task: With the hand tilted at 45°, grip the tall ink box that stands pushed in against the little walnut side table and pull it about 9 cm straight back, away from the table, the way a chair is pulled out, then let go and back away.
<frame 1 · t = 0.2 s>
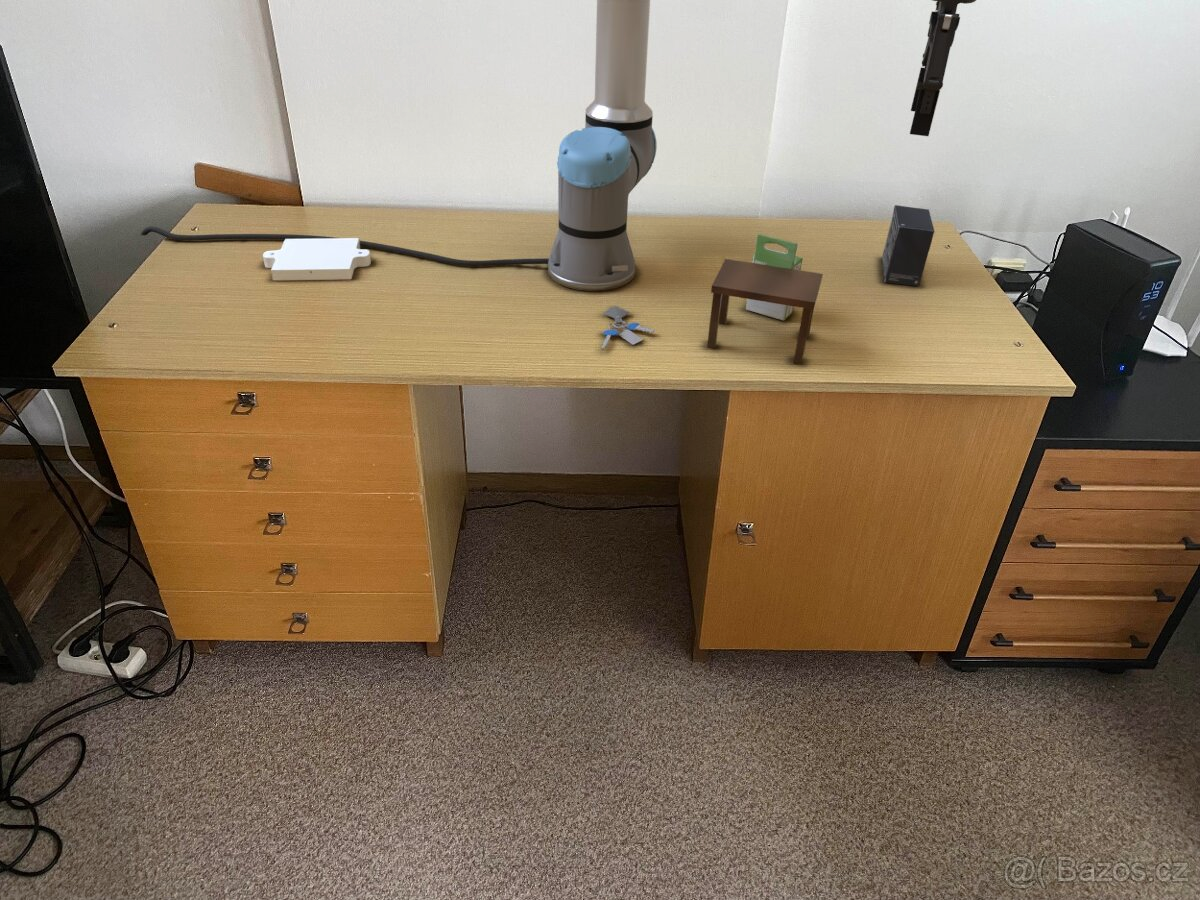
hand: (919, 122, 137), 28 cm above the table, tool pointing down, fingers open, 13 cm apart
side table: (758, 341, 137), on the table
ink box: (769, 312, 145), on the table
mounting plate: (318, 264, 155), on the table
small box: (899, 273, 159), on the table
key chain: (628, 331, 138), on the table
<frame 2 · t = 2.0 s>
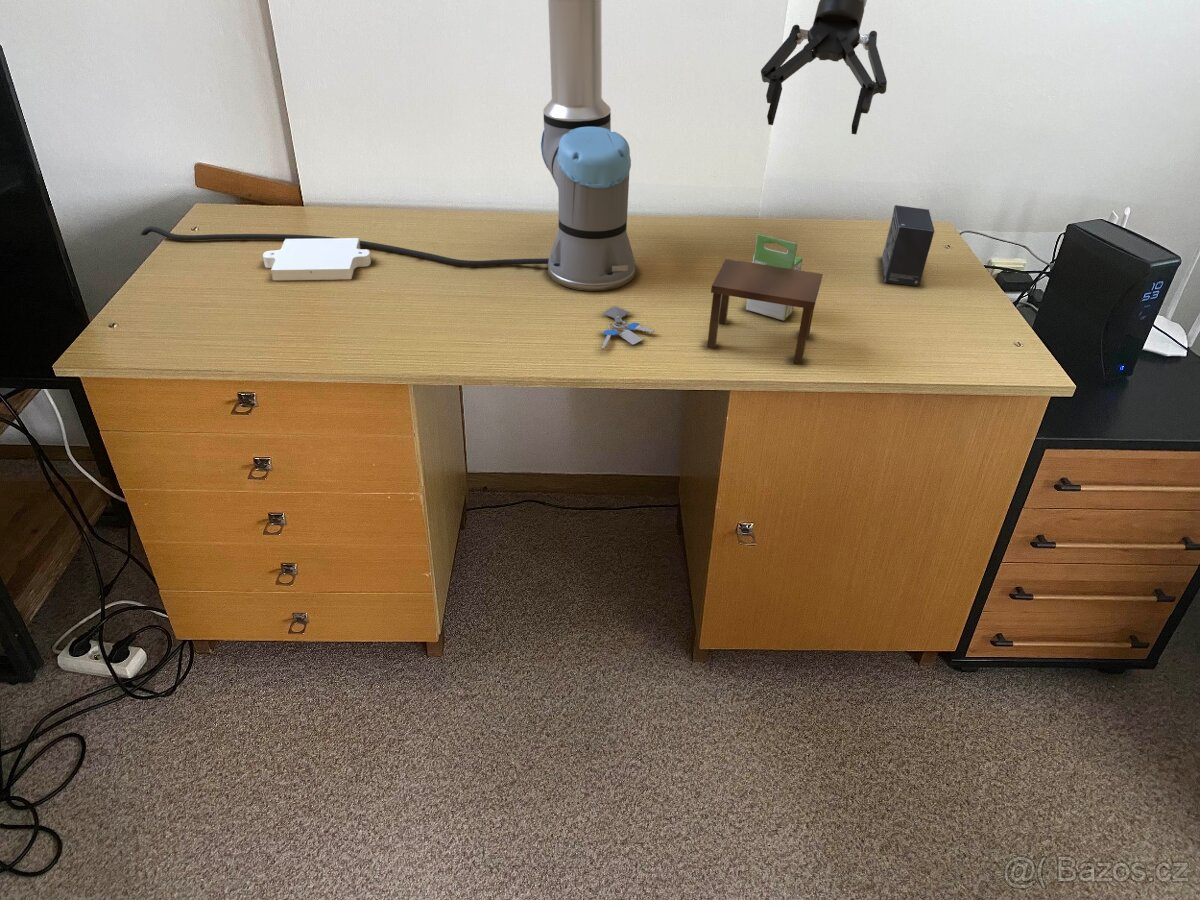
hand: (811, 125, 143), 26 cm above the table, tool tilted 45°, fingers open, 13 cm apart
nothing on the table moved.
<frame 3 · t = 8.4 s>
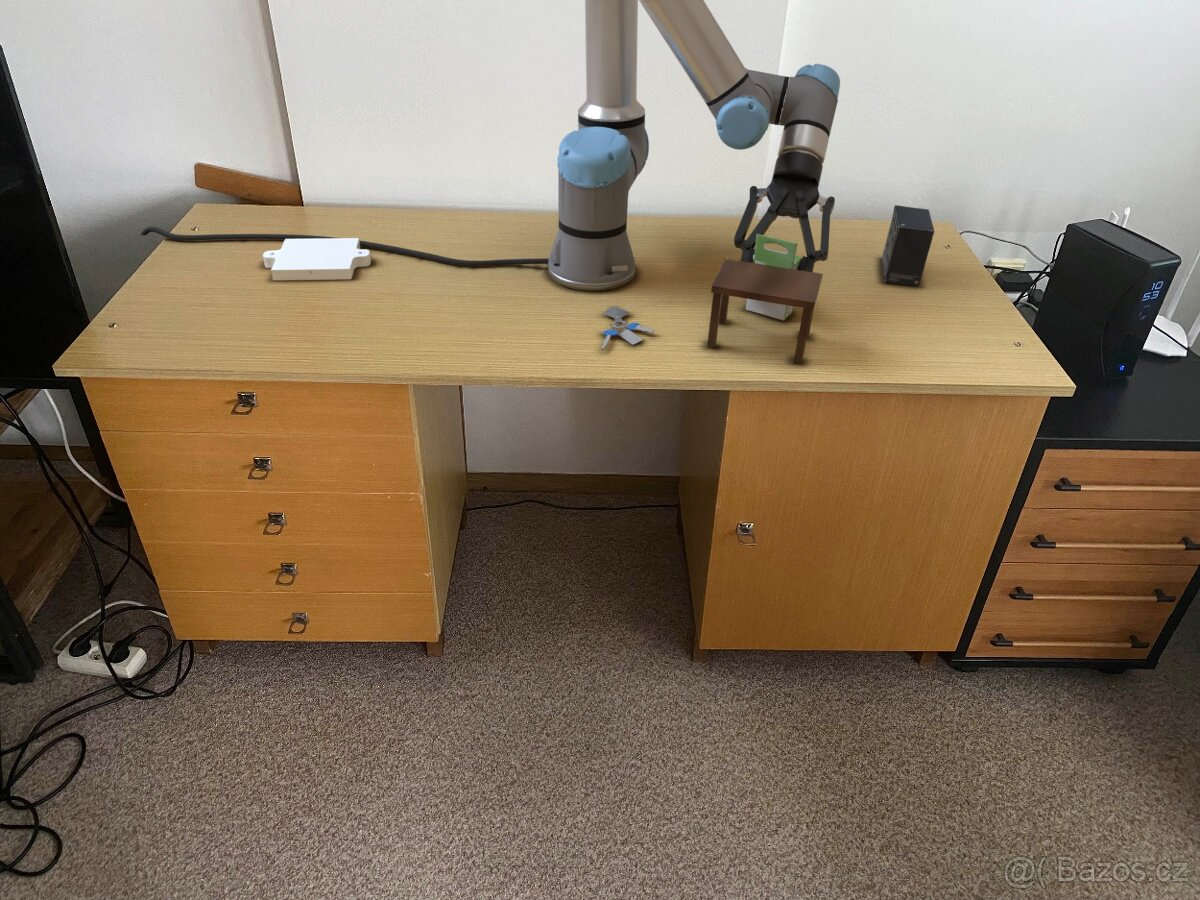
hand: (770, 294, 139), 5 cm above the table, tool tilted 45°, fingers closed on ink box, 8 cm apart
ink box: (769, 312, 145), on the table, touching gripper
everything else where it was.
when the fingers open (5 cm above the table, at t = 12.3 s): ink box stays where it is, on the table.
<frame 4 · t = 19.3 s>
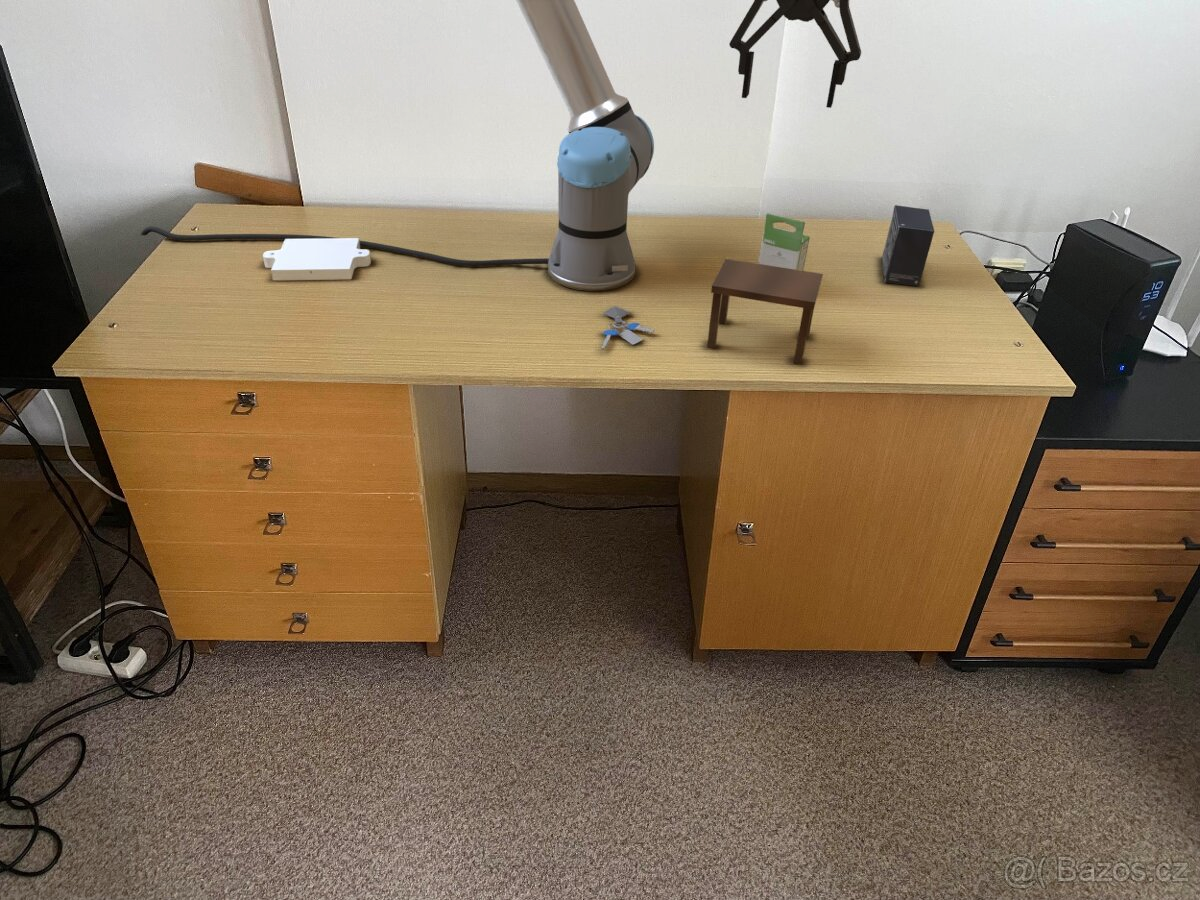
hand: (786, 100, 142), 29 cm above the table, tool pointing down, fingers open, 13 cm apart
ink box: (777, 289, 152), on the table
everything else where it was.
at the end: ink box inside the target area (0.5 cm from its centre), on the table; ink box tilted 0°; the gripper is holding nothing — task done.
